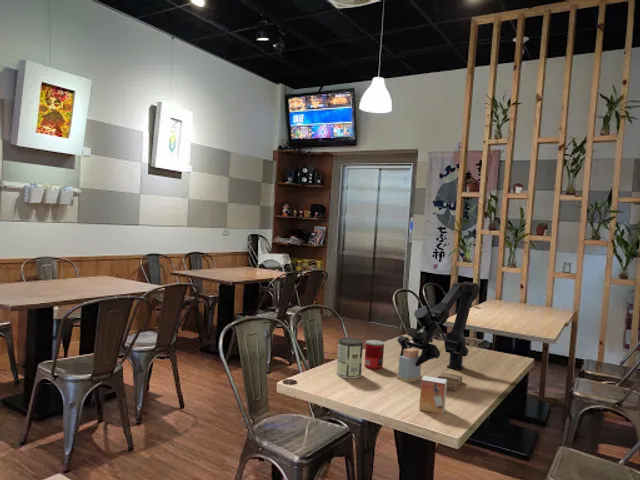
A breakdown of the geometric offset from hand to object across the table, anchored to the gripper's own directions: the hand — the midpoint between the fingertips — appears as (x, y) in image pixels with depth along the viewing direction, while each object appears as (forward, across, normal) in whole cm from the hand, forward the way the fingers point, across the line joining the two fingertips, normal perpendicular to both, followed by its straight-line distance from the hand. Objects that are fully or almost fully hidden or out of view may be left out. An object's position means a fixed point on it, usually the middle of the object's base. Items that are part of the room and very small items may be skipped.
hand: (407, 363), depth 192 cm
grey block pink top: (+4, 0, +6) cm, 7 cm away
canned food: (+5, -19, +5) cm, 20 cm away
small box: (+18, +26, -8) cm, 33 cm away
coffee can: (+17, -16, -7) cm, 25 cm away
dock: (-2, +13, +12) cm, 17 cm away
